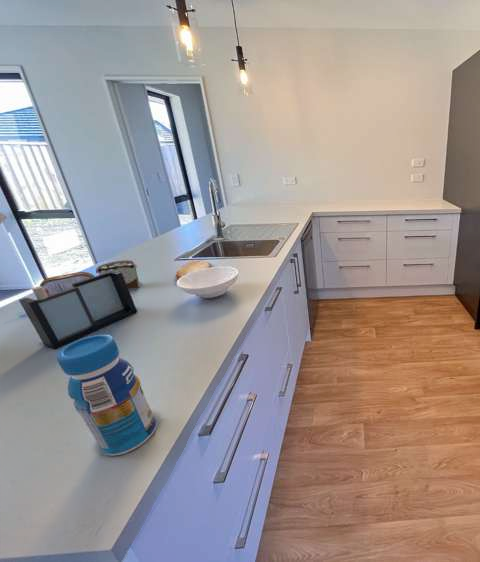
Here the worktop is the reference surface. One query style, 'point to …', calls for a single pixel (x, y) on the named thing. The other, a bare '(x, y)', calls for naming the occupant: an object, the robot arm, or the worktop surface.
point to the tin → (63, 282)
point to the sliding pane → (64, 311)
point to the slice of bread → (191, 268)
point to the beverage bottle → (107, 394)
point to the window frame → (100, 301)
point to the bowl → (208, 281)
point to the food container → (122, 266)
